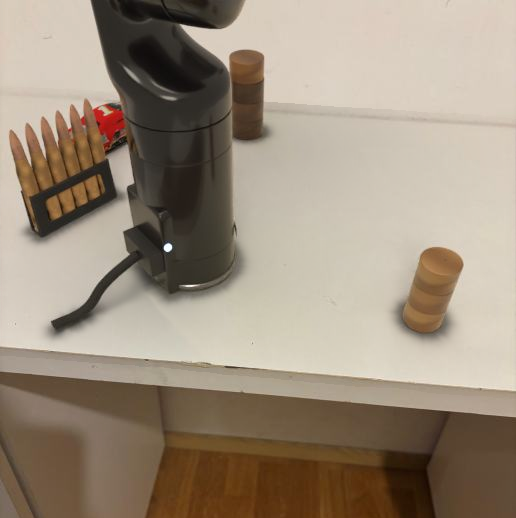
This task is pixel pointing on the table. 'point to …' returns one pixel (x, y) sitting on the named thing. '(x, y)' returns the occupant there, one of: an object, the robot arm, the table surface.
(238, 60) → the oak chip
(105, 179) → the ammunition clip
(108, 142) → the race car
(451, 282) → the oak chip base pile
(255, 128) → the walnut chip pile
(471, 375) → the table surface
